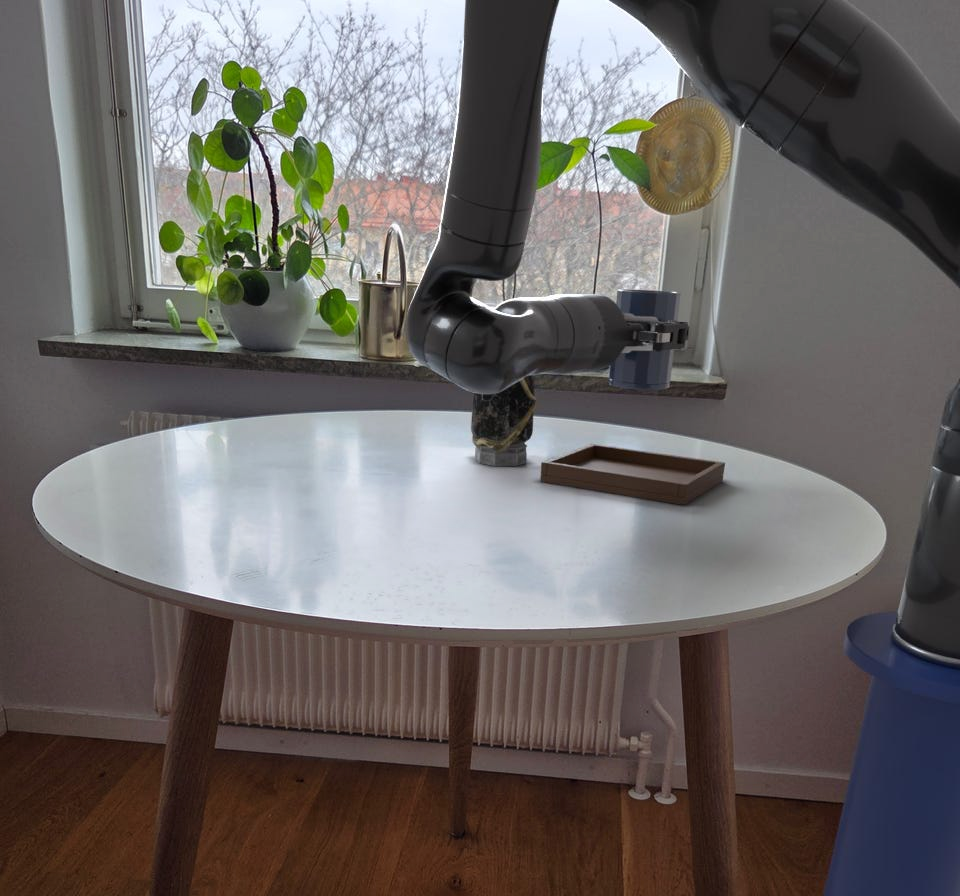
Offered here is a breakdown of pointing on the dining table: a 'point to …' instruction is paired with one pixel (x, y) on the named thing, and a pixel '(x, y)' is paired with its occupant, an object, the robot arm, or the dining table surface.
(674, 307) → the cup
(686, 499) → the tray
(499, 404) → the lantern
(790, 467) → the dining table surface
